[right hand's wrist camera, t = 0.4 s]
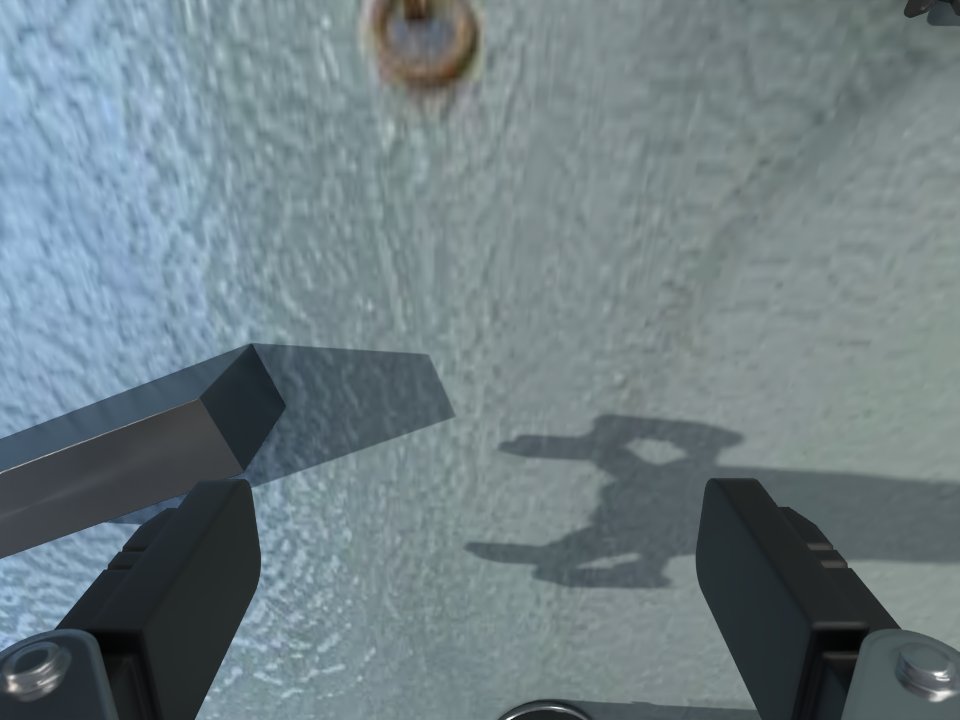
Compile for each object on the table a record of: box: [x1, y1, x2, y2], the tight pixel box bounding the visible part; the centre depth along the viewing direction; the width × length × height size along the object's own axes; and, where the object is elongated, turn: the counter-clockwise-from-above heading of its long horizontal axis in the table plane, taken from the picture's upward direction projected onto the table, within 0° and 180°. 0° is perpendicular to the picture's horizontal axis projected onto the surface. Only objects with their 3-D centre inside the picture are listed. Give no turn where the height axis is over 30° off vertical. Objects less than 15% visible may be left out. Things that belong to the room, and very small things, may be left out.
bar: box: [0, 344, 286, 559], centre depth 39 cm, size 24×5×8 cm, turn 111°
